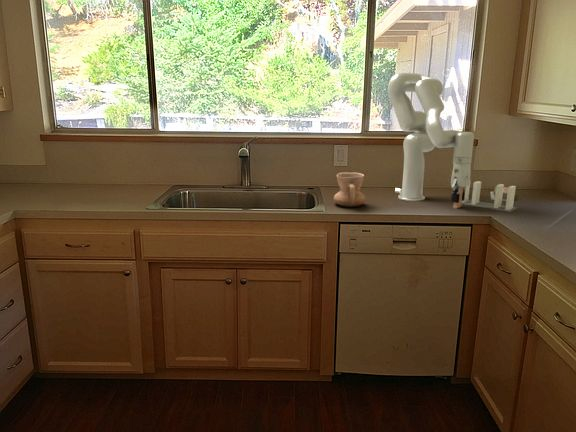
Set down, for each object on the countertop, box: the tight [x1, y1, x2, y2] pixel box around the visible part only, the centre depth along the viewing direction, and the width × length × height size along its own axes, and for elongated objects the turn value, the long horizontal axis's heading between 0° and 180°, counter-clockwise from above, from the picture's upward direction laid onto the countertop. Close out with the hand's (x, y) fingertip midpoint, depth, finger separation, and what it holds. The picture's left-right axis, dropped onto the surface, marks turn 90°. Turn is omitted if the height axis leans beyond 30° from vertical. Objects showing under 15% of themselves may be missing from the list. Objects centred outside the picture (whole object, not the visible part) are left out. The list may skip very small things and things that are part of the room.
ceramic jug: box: [333, 172, 366, 208], centre depth 209 cm, size 18×14×14 cm
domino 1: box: [452, 185, 463, 209], centre depth 205 cm, size 2×5×10 cm, turn 138°
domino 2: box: [462, 179, 471, 203], centre depth 216 cm, size 2×5×10 cm, turn 137°
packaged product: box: [490, 186, 508, 202], centre depth 227 cm, size 18×5×10 cm
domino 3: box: [471, 180, 482, 204], centre depth 212 cm, size 2×5×10 cm, turn 137°
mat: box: [461, 199, 518, 213], centre depth 211 cm, size 26×10×1 cm, turn 47°
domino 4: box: [493, 183, 505, 208], centre depth 206 cm, size 2×5×10 cm, turn 137°
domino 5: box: [505, 185, 517, 210], centre depth 203 cm, size 2×5×10 cm, turn 138°
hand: (457, 200), depth 206 cm, fingers closed on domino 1, 4 cm apart
